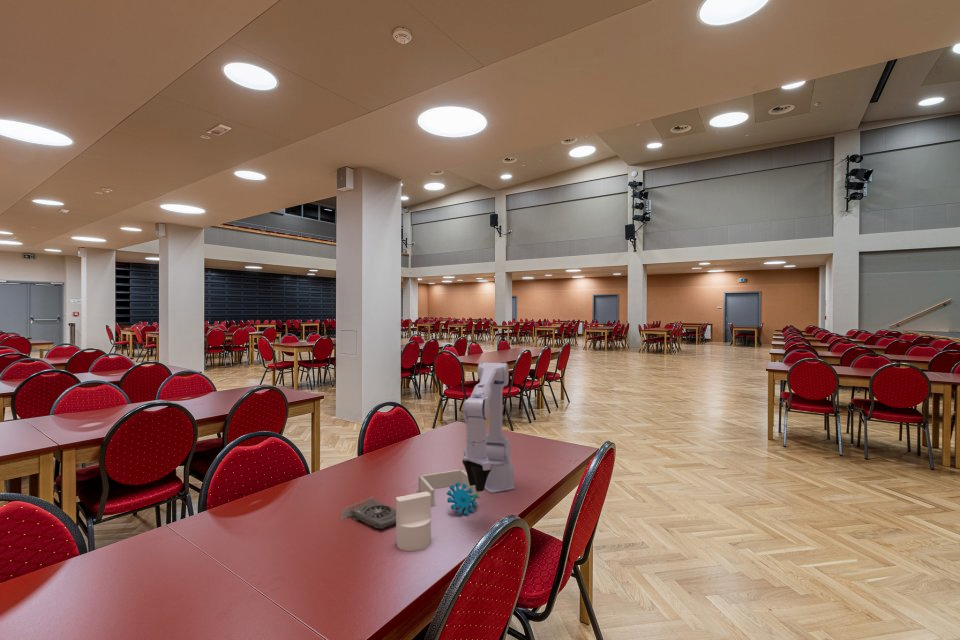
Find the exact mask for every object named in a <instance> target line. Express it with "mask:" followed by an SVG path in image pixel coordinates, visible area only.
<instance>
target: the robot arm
mask: <svg viewBox="0 0 960 640" xmlns="http://www.w3.org/2000/svg"><path fill="white" fill-rule="evenodd" d="M509 368H510V367H509V364H508V363H507V362H483V361H480V362H479V363H478V365H477V378H478V380H479V383H477V384H476V385H475V386H474V387H473V390H472V392H471V394H470V396H469V397H468V398H467V399H465V400H464V403H463V416H464V425H466V434H465V435H466V440H465V441H466V444H465V445H466V448H464V449H463V456H462V461H461V462H462V464H463V466H464V469H465V472H466V473H467V476H468V481H469V484H470V486H472V485H475V488H476V491H477V492H478V493H479V492H484V491H485V490H486V491H488V493H490V494H494V493H500V492H505V491H510V490H515V489H516V487H515V480H514V479H515V478H514V477H515V473H514V472H515V471H514V470H515V469H514V466H513V465H514V464H513V463H512V461H511V453H512V450H511V448H512V447H511V440H510V438H509V437H508V436H506V435H505V434H504V433H503V392H504V391H503V390H504V387H507V386H508V385H509V375H510V374H509V372H510V371H509V370H510V369H509ZM487 419H488V434H487Z"/></svg>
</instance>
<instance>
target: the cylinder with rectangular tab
mask: <svg viewBox="0 0 960 640" xmlns="http://www.w3.org/2000/svg"><path fill="white" fill-rule="evenodd" d="M395 501H396V502H395V504H396V505H395V509H396V523H395V524H396V525H395V529H396V530H395V531H396V532H395V534H396V535H395V538H396V539H395V545H396V544H397V545H396V547H397V548H398V549H399V550H403V551H406V552H407V551H408V552H415V551H421V550H423V549H426V548H427V547H428V546H430V545H431V542H432V513H431V512H432V511H431V510H432V506H431V494H430V493H429V492H427V491H426V492H421V493H420V492H417V493H411V494H407V495H401V496H396V497H395Z"/></svg>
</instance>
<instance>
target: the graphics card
mask: <svg viewBox="0 0 960 640" xmlns="http://www.w3.org/2000/svg"><path fill="white" fill-rule="evenodd" d="M355 507H356V508H355ZM340 515H342V516H340V521H343V520H345V519H347V517H348V518H350V517H351V518H352V519H353V520H355V521H357V522H358V521H361V522H363V521H364V522H363V523H365V522H366V523H365V524H367V523H368V524H367V525H369V524H370V525H369V526H371V525H372V526H371V527H373V526H374V527H373V528H375V527H376V528H375V529H377V528H378V529H381V530H383V529H385V527H388V526H393V525H395V524H396V508H394V507H391V506H390V505H389V506H388V505H387V504H384V503H382V502H380V501H378V500H374V497H373V496H371V497H368V498H366V499H364V500H362V501H359V502H357V503H354V504H351V505H349V506H347V507H345V508H343V509H342V510H340ZM392 524H393V525H392Z"/></svg>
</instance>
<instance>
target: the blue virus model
mask: <svg viewBox="0 0 960 640" xmlns="http://www.w3.org/2000/svg"><path fill="white" fill-rule="evenodd" d="M460 486H461V488H460ZM466 487H467V485H466V484H463V485H461V484H460V483H456V484H455V486H454V485H452V486H449V490H448V491H447V492H446V496H449V497H448V498H447V499H446V500H447V503H449V504H450V503H451V505H450V509H451V510H452V511H453V510H455V509H456V508H459V509H457V511H456V513H457V514H458V515H461V514H462V513H463V515H464V516H468V515H469V514H470V513H474V512H475V508H476V506H477V504H478V502H476V499H477V497H478V498H479V492H478V493H476V494H475V495H471V494H470V493H472V492H473V491H472V489H471V488H470V489H469V490H466V489H465V488H466ZM455 488H456V489H455ZM468 508H469V509H468ZM463 509H464V512H463Z"/></svg>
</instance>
